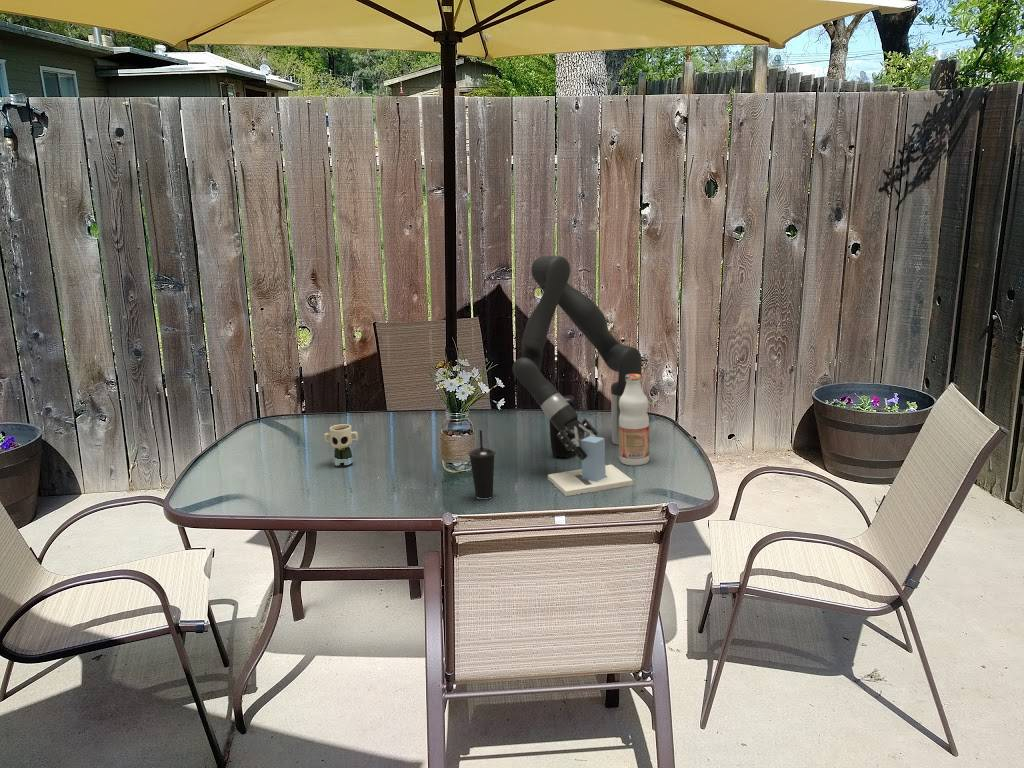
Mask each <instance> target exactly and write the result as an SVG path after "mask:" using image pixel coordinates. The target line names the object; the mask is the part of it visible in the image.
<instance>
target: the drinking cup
mask: <svg viewBox="0 0 1024 768" xmlns="http://www.w3.org/2000/svg"><path fill="white" fill-rule="evenodd" d="M495 454H496V450H495V449H493V448H490V447H488V446H483V431H482V430H480V429H479V446H478V447H475V448H474V449H473V448H472V449H471V450H468V455H469V460H470V466H471V473H472V478H473V479H472V480H473V485H474V490H475V491H474V492H475V497H476V496H477V497H479V498H489V497H492V496H494V478H495V477H494V474H495ZM492 498H493V497H492Z"/></svg>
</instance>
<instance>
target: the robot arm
mask: <svg viewBox="0 0 1024 768" xmlns="http://www.w3.org/2000/svg"><path fill="white" fill-rule="evenodd" d="M530 271H531V275H532V278H533V281H535V283H536V284H537V285H538V286H539V287H540V288H541V289H542V290H543V293H542V295H541V298H540V300H539V302H538V304H537V305H536V306H535V308H534V310H533V311H532V313H530V315H529V318H528V319H527V321H526V324H525V328H524V331H523V335H522V340H521V348H522V349H521V350H522V352H521V357H519V358H517V359H516V360H514V362H513V364H512V373H513V375H514V377H515V378H516V379H517V381H518V382H519V383H520V384H521V385H522V386H523V388H525V390H527V392H528V393H530V395H531V396H532V398H533V399H534V401H535V402H536V403H537V404H538V406H539V407H540V409H542V411H543V413H544V414H545V416H546V417H547V418H548V420H549V422H550V421H551V422H552V424H553V425H554V426H555V427H556V429H557V430H558V431H560V432H559V433H558V434H557V437H558V439H559V440H560V441H561V443H562V444H563V445H564V447H565V448H566V450H567V451H570V450H572V451H574V452H575V453H576V456H577V457H578V458H579V459H580V460H581V461H582V460H584V459H585V458H586V457H587V454H586V453H585V452H584V450H583V449H582V448H581V445H580V444H579V443H580V442H579V440H583V439H585V438H587V437H589V436H595V437H597V435H598V431H597V430H596V429H595V428H594V427H593V426H592V424H591V423H590V422H589V421H588V420H587V418H586V419H585V418H584V419H583V420H582V421H580V420H579V419H578V418H579V415H578V413H577V411H576V412H575V411H574V410H573V408H572V407H571V406H570V405H569V403H568V402H567V401H566V400H565V398H564V397H563V396H564V395H562V394H561V393H560V392H559V391H558V389H556V388H555V386H554V385H553V384H552V382H550V381H549V380H548V379H547V378H545V376H544V375H543V373H542V372H541V369H542V363H543V351H544V347H545V344H546V341H547V336H548V333H549V329H550V326H551V323H552V319H553V317H554V315H555V312H556V309H557V307H558V306H559V307H560V308H561V309H562V311H563V312H564V313H565V315H567V316H568V318H569V319H570V320H571V322H572V323H573V324H574V325H575V326H576V328H577V329H578V330H579V331H580V332H581V333H582V334H583V335H584V336H585V338H586V339H587V340H588V341H589V342H590V343H591V345H592V346H593V347H594V348H595V349H596V351H597V352H598V353H599V355H600V356H601V358H602V361H603V362H604V363H605V365H606V366H607V367H608V368H609V369H610V370H612V371H614V372H617V373H618V378H617V379H618V381H616V382H613V383H612V384H611V386H610V398H611V399H610V401H611V402H610V403H611V404H610V405H611V406H610V407H611V442H612V443H613V444H615V445H618V446H619V416H620V413H621V411H620V407H619V400H620V397H621V396H622V394H623V392H624V390H625V386H626V380H625V376H626V375H628V374H639V375H641V376H642V369H643V367H642V365H643V362H642V361H643V360H642V355H641V352H640V350H638V349H637V348H636V347H633V346H629V345H625V344H622V343H620V342H619V341H618V340H617V339H616V338H615V337H614V336H613V335H612V333H611V332H610V330H609V327H608V321H607V318H606V316H605V314H604V313H603V311H601V309H600V308H599V306H598V305H597V304H596V302H594V300H592V299H591V298H590V297H588V295H585V294H584V293H583V292H581V291H580V290H578V289H577V288H575V287H573V286H572V285H571V284H570V283H569V282H568V281H569V279H570V276H571V265H570V262H569V261H568V259H567V258H565V257H564V256H561V255H560V256H559V255H548V256H545V255H544V256H539V257H537V258H536V259H534V261H533V262H532V264H531V269H530ZM641 383H642V380H641V381H640V384H641ZM567 442H568V443H569V446H568V445H567Z"/></svg>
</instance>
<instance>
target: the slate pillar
mask: <svg viewBox="0 0 1024 768" xmlns="http://www.w3.org/2000/svg"><path fill="white" fill-rule="evenodd" d="M605 440H606V438H604V437H599V436H596V437H595V436H588V437H587V438H585V439H580V447H581V448H582V449H583V450H584V452H585V453H586V454H587V457H586V458H585V459H584V460H581V469H582V479H585V480H590V481H594V482H598V481H599V480H601V479H603V478H604V477H606V473H605V465H606V441H605Z"/></svg>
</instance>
